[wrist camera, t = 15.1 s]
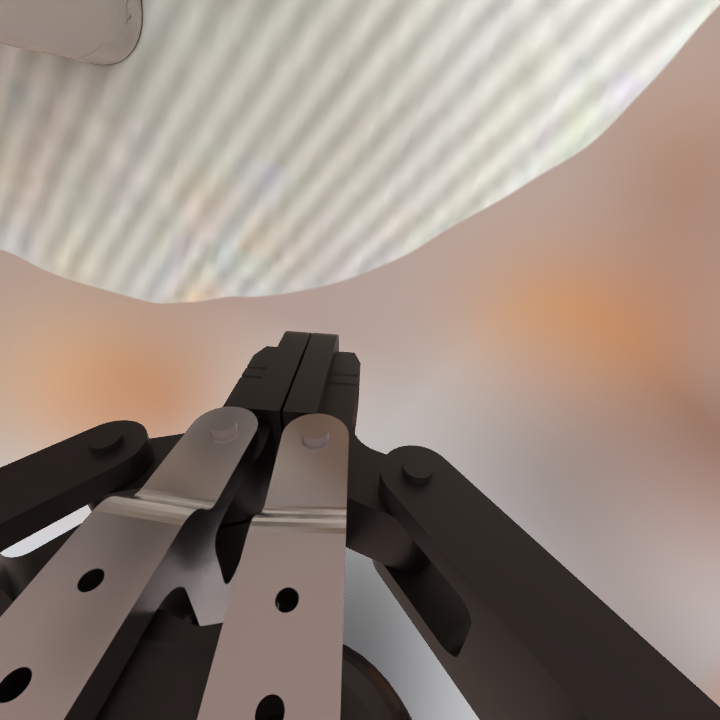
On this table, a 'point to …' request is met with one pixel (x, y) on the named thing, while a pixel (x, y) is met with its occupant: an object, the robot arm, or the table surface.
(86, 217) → the table surface
